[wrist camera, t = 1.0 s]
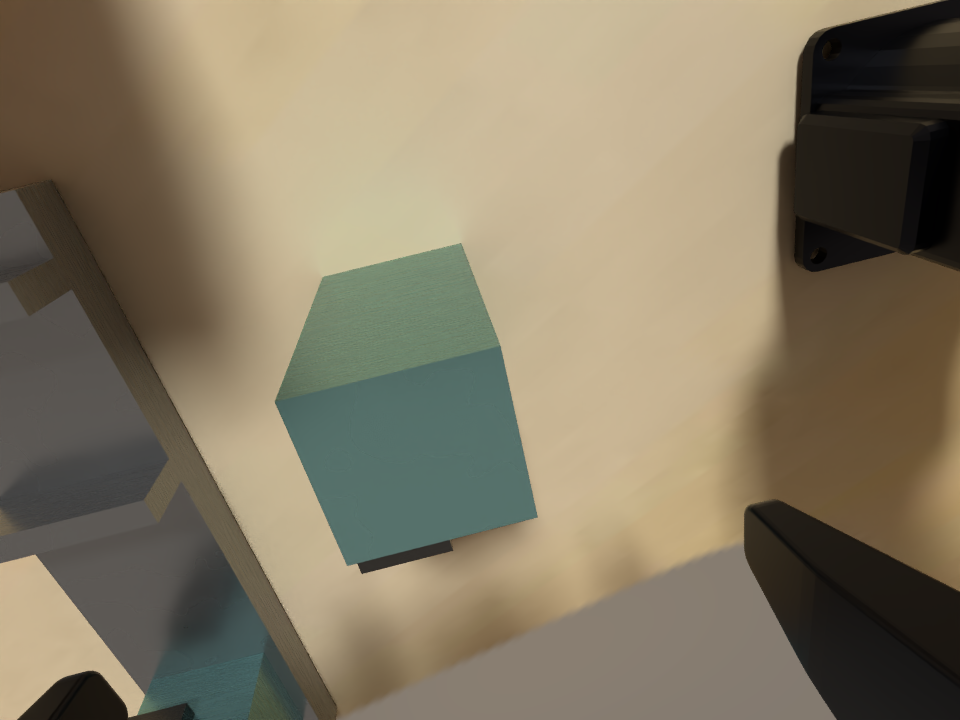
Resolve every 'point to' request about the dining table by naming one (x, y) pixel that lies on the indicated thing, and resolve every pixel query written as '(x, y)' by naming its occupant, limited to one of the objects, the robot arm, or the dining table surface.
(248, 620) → the rail
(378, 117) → the dining table surface
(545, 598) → the dining table surface
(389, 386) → the block
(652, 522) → the dining table surface
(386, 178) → the dining table surface
